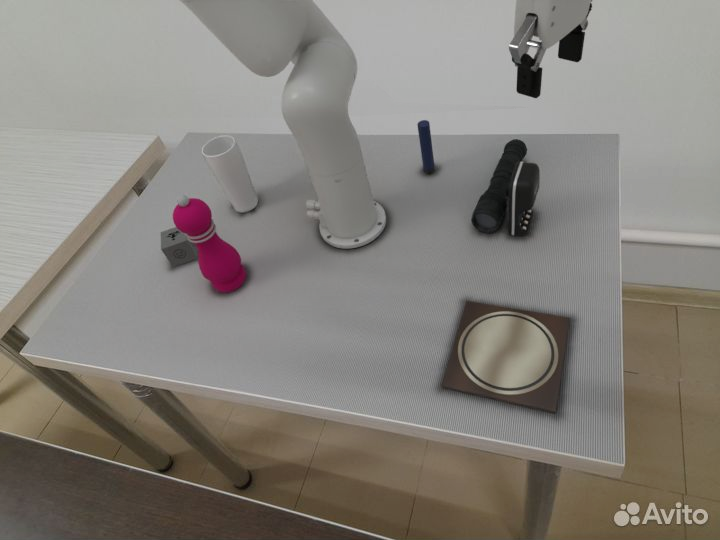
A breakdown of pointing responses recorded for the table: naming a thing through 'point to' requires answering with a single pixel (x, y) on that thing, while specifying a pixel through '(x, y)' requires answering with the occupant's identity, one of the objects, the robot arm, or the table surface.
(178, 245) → the grey toy cube
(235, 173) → the drinking glass
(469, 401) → the table surface
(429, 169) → the cylinder
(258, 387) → the table surface
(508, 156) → the flashlight
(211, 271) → the pepper mill
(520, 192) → the battery charger
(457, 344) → the brown square board
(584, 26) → the robot arm
